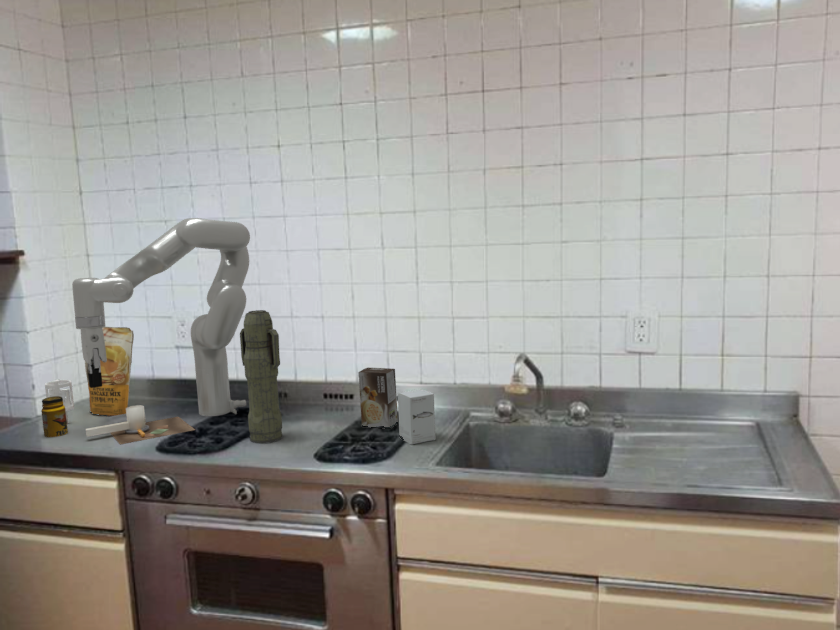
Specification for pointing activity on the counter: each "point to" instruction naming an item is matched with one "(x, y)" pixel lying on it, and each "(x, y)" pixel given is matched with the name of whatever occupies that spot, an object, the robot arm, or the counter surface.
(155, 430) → the brown square board
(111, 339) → the pancake mix bag
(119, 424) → the white handled piece
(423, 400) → the supplement box
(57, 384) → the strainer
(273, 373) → the thermos
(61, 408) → the condiment
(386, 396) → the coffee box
